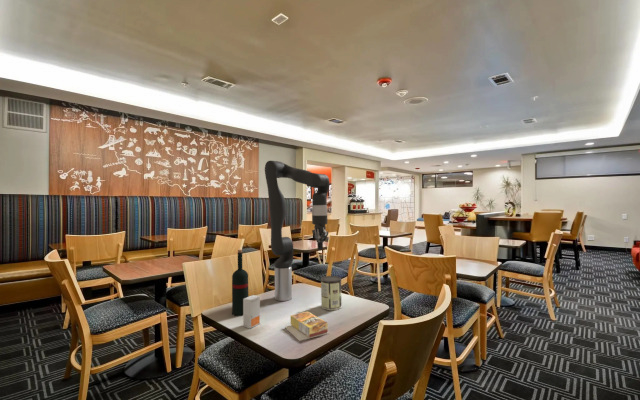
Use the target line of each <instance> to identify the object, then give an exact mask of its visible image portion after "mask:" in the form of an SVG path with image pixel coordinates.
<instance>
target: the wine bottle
mask: <svg viewBox="0 0 640 400" xmlns="http://www.w3.org/2000/svg"><path fill="white" fill-rule="evenodd" d="M231 297H232V298H231V299H232V300H231V309H232V310H231V313H232V314H231V315H232V316H236V317H243V299H244V298H247V297H249V274H248V272H247V271H246V270H245V269H243V249H237V269H236V270H235V271H234V272H233V273H232V275H231Z"/></svg>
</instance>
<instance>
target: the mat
mask: <svg viewBox="0 0 640 400" xmlns="http://www.w3.org/2000/svg"><path fill="white" fill-rule="evenodd" d="M284 327H285V329H286V330H287V331H288V332H289V333H290V334H291V335H292V336H293V337H295V339H297V340H298V342H301V341H305V340H309V339H312V338H316V337H321V336H325V335H327V334H330V332H329V331H328V332H326V333H323V334H319V335H316V336H313V337H310V338H309V337H308V336H306V335H305V334H304V333H302V332H301V331H299V330H298V329H296V328H295V327H294V326H292V325H291V324H290V325H288V326H284Z"/></svg>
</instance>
